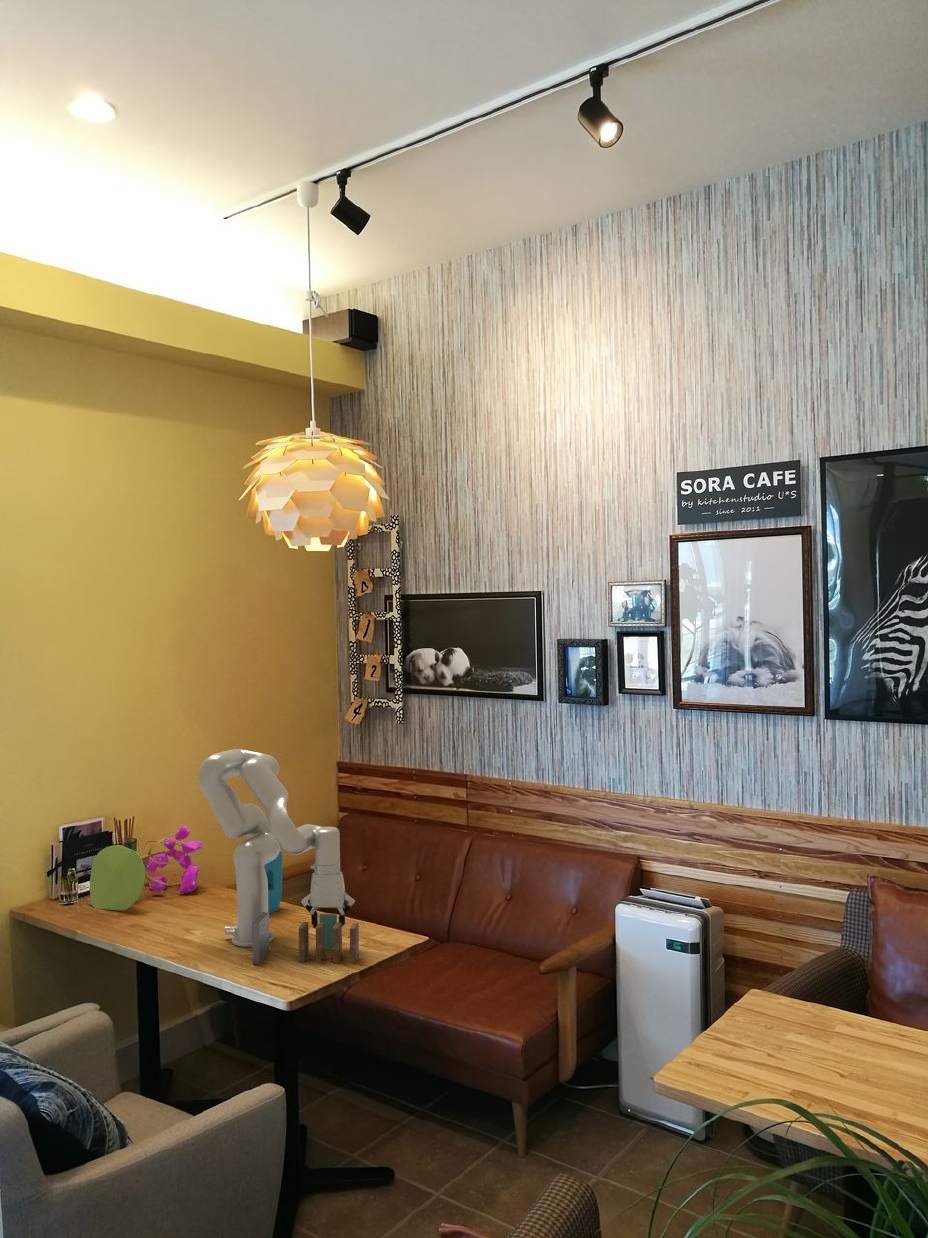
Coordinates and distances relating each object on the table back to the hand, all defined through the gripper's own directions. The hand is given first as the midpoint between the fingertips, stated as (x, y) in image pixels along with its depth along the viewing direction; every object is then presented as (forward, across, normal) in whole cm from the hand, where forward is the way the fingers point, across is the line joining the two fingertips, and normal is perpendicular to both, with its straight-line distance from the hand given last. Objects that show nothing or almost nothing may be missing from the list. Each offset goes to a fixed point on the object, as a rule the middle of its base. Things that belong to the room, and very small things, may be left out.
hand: (328, 926), depth 289 cm
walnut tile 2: (+6, +5, -10) cm, 13 cm away
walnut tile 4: (+6, -5, -10) cm, 13 cm away
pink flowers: (+7, -77, +50) cm, 92 cm away
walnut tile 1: (+6, +10, -10) cm, 16 cm away
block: (+7, -30, +35) cm, 47 cm away
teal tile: (+6, 0, 0) cm, 6 cm away
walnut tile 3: (+6, 0, -10) cm, 12 cm away
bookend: (+6, -18, -10) cm, 21 cm away
